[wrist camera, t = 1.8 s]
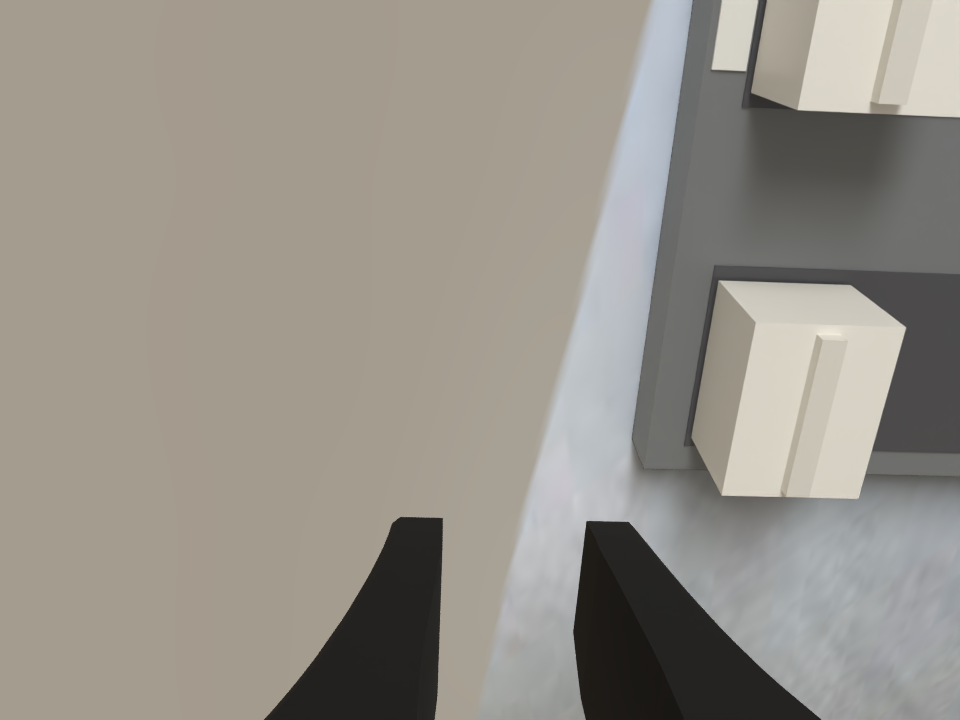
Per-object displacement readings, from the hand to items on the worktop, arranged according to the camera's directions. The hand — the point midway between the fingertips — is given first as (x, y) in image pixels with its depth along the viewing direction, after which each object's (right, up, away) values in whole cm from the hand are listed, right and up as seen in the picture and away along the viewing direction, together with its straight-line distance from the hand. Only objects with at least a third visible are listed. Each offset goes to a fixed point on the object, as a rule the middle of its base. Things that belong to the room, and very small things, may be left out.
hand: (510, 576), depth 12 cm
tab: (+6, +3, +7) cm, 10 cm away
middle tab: (+7, +10, +4) cm, 13 cm away
